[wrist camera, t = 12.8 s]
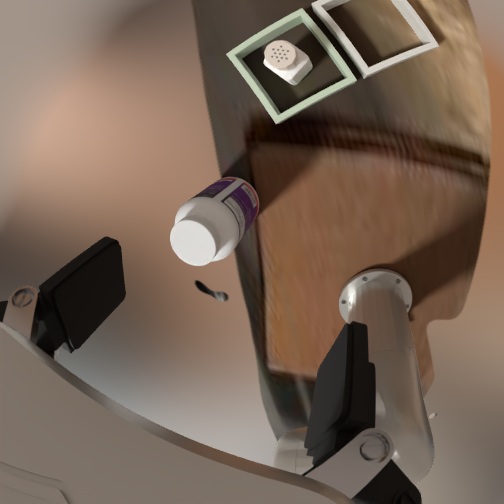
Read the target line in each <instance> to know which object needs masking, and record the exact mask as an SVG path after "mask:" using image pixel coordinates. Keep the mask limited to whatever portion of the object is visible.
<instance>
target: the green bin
mask: <svg viewBox="0 0 504 504" xmlns="http://www.w3.org/2000/svg"><path fill="white" fill-rule="evenodd" d="M301 23H304V24H305V25H306V26H307V27H308V29H309V30H310V31H311V32H312V33H313V35H314V36H315V37H316V39H317V40H318V41H319V42H320V44H321V45H322V46H323V48H324V49H325V50H326V52H327V53H328V54H329V56H330V57H331V58H332V60H333V61H334V63H335V64H336V65H337V67H338V68H339V70H340V71H341V73H342V74H343V76H344V77H345V79H344V80H342V81H340V82H338V83H336V84H334V85H332V86H330V87H328V88H326V89H324V90H322V91H320V92H319V93H317V94H315V95H313V96H311V97H309V98H308V99H306V100H304V101H302V102H300V103H299V104H297V105H295V106H293V107H292V108H290V109H288V110H287V111H285V112H283V113H280V111H279V110H278V108H277V107H276V105H275V104H274V102H273V101H272V99H271V98H270V97H269V95H268V94H267V92H266V91H265V89H264V88H263V87H262V85H261V84H260V82H259V81H258V80H257V78H256V77H255V76H254V74H253V73H252V72H251V70H250V69H249V68H248V66H247V65H246V64H245V62H244V61H243V60H242V58H244V57H245V56H247V55H248V54H250V53H251V52H253V51H254V50H256V49H257V48H259V47H261V46H262V45H264V44H265V43H267V42H269V41H270V40H272V39H274V38H275V37H277V36H279V35H281V34H282V33H284V32H286V31H288V30H290V29H291V28H293V27H295V26H297V25H299V24H301ZM226 55H227V56H228V57H229V59H230V60H231V61H232V63H233V64H234V65H235V66H236V68H237V69H238V70H239V72H240V73H241V75H242V76H243V77H244V79H245V80H246V81H247V83H248V84H249V85H250V87H251V88H252V90H253V91H254V92H255V94H256V95H257V97H258V98H259V100H260V101H261V102H262V104H263V105H264V107H265V108H266V110H267V111H268V113H269V114H270V116H271V117H272V119H273V120H274V122H275V123H276V124H279V123H282V122H283V121H285V120H287V119H288V118H290V117H292V116H294V115H295V114H297V113H299V112H301V111H302V110H304V109H306V108H308V107H310V106H311V105H313V104H315V103H317V102H319V101H321V100H323V99H324V98H326V97H328V96H330V95H332V94H334V93H336V92H338V91H340V90H342V89H344V88H346V87H348V86H350V85H352V84H354V83H355V82H356V81H357V80H356V78H355V77H354V75H353V74H352V72H351V71H350V69H349V68H348V66H347V65H346V63H345V62H344V60H343V59H342V58H341V56H340V55H339V53H338V52H337V51H336V49H335V48H334V47H333V45H332V44H331V43H330V41H329V40H328V39H327V37H326V36H325V35H324V34H323V32H322V31H321V30H320V29H319V27H318V26H317V25H316V24H315V23H314V21H313V20H312V19H311V18H310V17H309V16H308V14H307V13H306V12H305V11H304V10H303V9H300V10H298V11H296V12H294V13H292V14H290V15H288V16H286V17H285V18H283V19H281V20H279V21H277V22H276V23H274V24H272V25H270V26H269V27H267V28H265V29H264V30H262V31H260V32H259V33H257V34H256V35H254V36H252V37H251V38H249V39H248V40H246V41H245V42H243V43H242V44H240V45H239V46H237V47H236V48H234V49H233V50H231V51H230V52H229V53H227V54H226Z"/></svg>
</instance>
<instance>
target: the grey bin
mask: <svg viewBox="0 0 504 504" xmlns="http://www.w3.org/2000/svg"><path fill="white" fill-rule="evenodd" d="M348 1H350V0H318V1H316V2H314V3H312V8H313V11H314V13H315V14H316V15H317V16H318V17H319V18H320V20H321V21H322V22H323V23H324V24H325V26H326V27H327V28H328V29H329V31H330V32H331V33H332V34H333V36H334V37H335V38H336V39H337V41H338V42H339V43H340V45H341V46H342V47H343V49H344V50H345V52H346V53H347V54H348V56H349V57H350V59H351V60H352V61H353V63H354V64H355V66H356V67H357V69H358V70H359V72H360V73H361V75H362V76H363V78H367V77H369V76H371V75H373V74H375V73H377V72H380V71H382V70H384V69H386V68H389V67H391V66H393V65H396V64H398V63H401V62H403V61H405V60H408V59H410V58H413V57H415V56H418V55H421V54H423V53H426V52H429V51H431V50H433V49H435V48H437V47H439V45H438V43H437V42H436V40H435V39H434V37H433V36H432V34H431V33H430V31H429V30H428V28H427V27H426V25H425V24H424V22H423V21H422V20H421V18H420V17H419V16H418V14H417V13H416V12H415V10H414V9H413V8H412V6H411V5H410V4H409V3H408V1H407V0H391V1H392V3H393V4H394V5H395V6H396V8H397V9H398V10H399V11H400V13H401V14H402V15H403V17H404V18H405V19H406V21H407V22H408V23H409V25H410V26H411V27H412V29H413V30H414V32H415V33H416V35H417V36H418V38H419V39H420V41H421V42H422V44H423V45H422V46H420V47H417V48H414V49H412V50H409V51H407V52H404V53H401V54H399V55H397V56H394V57H392V58H389V59H387V60H385V61H382V62H380V63H378V64H376V65H373V66H371V67H369V68H368V66H367V65H366V63H365V62H364V60H363V59H362V57H361V56H360V55H359V53H358V52H357V50H356V49H355V47H354V46H353V45H352V43H351V42H350V41H349V39H348V38H347V37H346V35H345V34H344V33H343V32H342V30H341V29H340V28H339V26H338V25H337V24H336V23H335V22H334V20H333V19H332V18H331V17H330V16H329V14H328V13H327V12H326V11H327V10H329V9H332V8H334V7H336V6H338V5H341V4H343V3H346V2H348Z"/></svg>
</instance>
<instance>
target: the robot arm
mask: <svg viewBox="0 0 504 504" xmlns="http://www.w3.org/2000/svg"><path fill="white" fill-rule="evenodd" d="M39 289H40V292H39V293H37V290H36V289H35V288H34V287H31V286H23V287H20V288H18V289H17V290H15V291H14V292H13V293H12V294H11V296H10V298H9V301H2V302H0V504H422V500H421V494H420V492H419V490H418V489H417V488H416V486H415V484H417V483H418V482H420V481H421V480H422V479H423V478H424V477H425V476H426V475H427V474H428V472H429V471H430V469H431V467H432V464H433V461H434V442H433V436H432V432H431V428H430V424H429V420H428V417H427V412H426V408H425V404H424V399H423V394H422V388H421V382H420V376H419V369H418V364H417V358H416V352H415V347H414V341H413V336H412V332H411V327H410V322H409V318H408V314H407V313H408V312H409V310H410V308H411V304H412V292H411V288H410V286H409V284H408V282H407V280H406V279H405V278H404V277H403V276H402V275H400V274H399V273H397V272H395V271H392V270H389V269H370V270H366V271H364V272H361V273H359V274H357V275H355V276H354V277H353V278H351V279H350V280H349V281H348V282H347V283H346V285H345V286H344V287H343V289H342V291H341V294H340V298H339V309H340V313H341V315H342V317H343V319H344V320H345V321H346V322H347V323H346V324H345V325H344V327H343V329H342V330H341V332H340V334H339V336H338V337H337V339H336V341H335V342H334V344H333V346H332V347H331V349H330V351H329V352H328V354H327V355H326V357H325V359H324V360H323V362H322V363H321V365H320V367H319V369H318V373H317V379H316V385H315V391H314V396H313V402H312V407H311V413H310V418H309V423H308V427H302V428H297V429H293V430H291V431H289V432H287V433H285V434H284V435H283V436H282V437H281V438H280V439H279V440H278V442H277V444H276V446H275V449H274V452H273V458H272V467H270V466H267V465H263V464H260V463H256V462H253V461H250V460H247V459H244V458H241V457H237V456H235V455H232V454H229V453H226V452H223V451H220V450H217V449H214V448H212V447H209V446H206V445H204V444H201V443H199V442H196V441H194V440H191V439H189V438H186V437H184V436H182V435H180V434H177V433H175V432H173V431H171V430H169V429H167V428H165V427H162V426H160V425H158V424H156V423H154V422H152V421H150V420H148V419H146V418H144V417H142V416H141V415H139V414H137V413H135V412H133V411H131V410H130V409H128V408H126V407H124V406H122V405H121V404H119V403H117V402H115V401H114V400H112V399H111V398H109V397H107V396H106V395H104V394H102V393H101V392H99V391H98V390H96V389H95V388H93V387H92V386H90V385H89V384H87V383H86V382H84V381H83V380H81V379H80V378H78V377H77V376H75V375H74V374H72V373H71V372H70V371H68V370H67V369H66V368H64V367H63V366H62V365H60V364H59V363H58V360H59V359H58V358H59V347H60V346H61V345H62V347H63V348H64V349H65V350H67V351H69V353H72V352H73V351H74V350H75V349H78V348H80V347H81V345H82V344H83V343H84V342H85V341H86V340H87V339H88V338H89V337H90V335H91V334H92V333H93V332H94V331H95V330H96V329H97V328H98V327H99V326H100V325H101V324H102V322H103V321H104V320H105V319H106V318H107V317H108V316H109V315H110V314H111V313H112V312H113V311H114V309H116V307H118V305H119V304H120V303H121V302H122V301H123V300H124V298H125V295H126V291H125V284H124V274H123V264H122V252H121V246H120V245H119V242H118V241H117V240H115V239H112V238H110V237H104V238H102V239H101V240H99V241H98V242H97V243H95V244H94V245H92V246H91V247H90V248H88V249H87V250H86V251H84V252H83V253H81V254H80V255H79V256H77V257H76V258H75V259H73V260H72V261H71V262H69V263H68V264H67V265H65V266H64V267H63V268H61V269H60V270H59V271H58V272H56V273H55V274H54V275H53V276H51V277H50V278H49V279H48V280H46V281H45V282H44V283H43V284H41V285H40V286H39Z"/></svg>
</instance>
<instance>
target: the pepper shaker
mask: <svg viewBox="0 0 504 504" xmlns="http://www.w3.org/2000/svg"><path fill="white" fill-rule="evenodd" d="M264 54H265V59H264V64H265V66H266V67H268V68H269V69H271V70H272V71H273V72H275V73H276V74H277V75H279V76H280V77H282V78H283V79H284V80H286V81H287V82H289V83H290V84H292V85H297V84H298V83H299V82H300V81H301V80H302V79H303V78H304V77H305V76H306V75H307V74H308V72H309V71H310V70H311V69H312V67H313V66H312V63H311V61H310V59H309V57H308V56H307V55H306V54H305V53H304V52H302V51H301V50H300V49H298V48H297V47H295V46H294V45H292V44H291V43H289V42H288V41H284V40H280V41H274V42H272V43H271V44H269V45H268V46H267V48H266V50H265V52H264Z"/></svg>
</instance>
